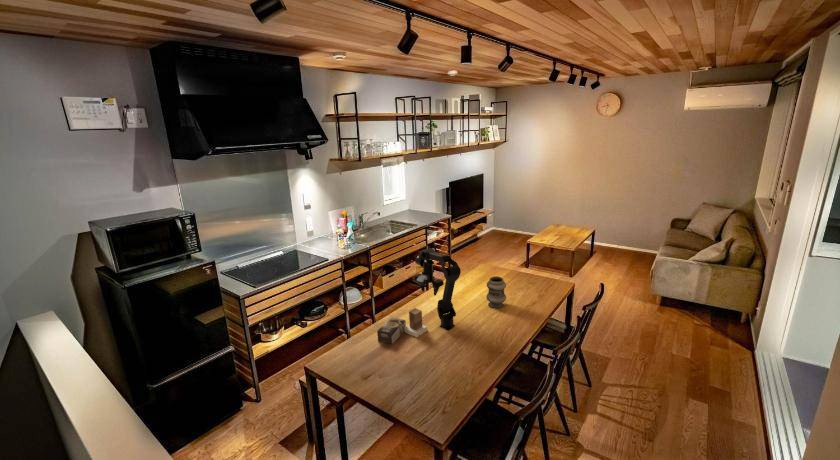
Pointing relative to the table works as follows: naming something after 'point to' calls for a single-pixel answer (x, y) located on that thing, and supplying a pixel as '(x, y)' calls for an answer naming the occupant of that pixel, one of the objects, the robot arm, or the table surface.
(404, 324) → the coffee box
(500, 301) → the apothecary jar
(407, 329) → the base plinth
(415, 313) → the walnut block
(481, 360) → the table surface
